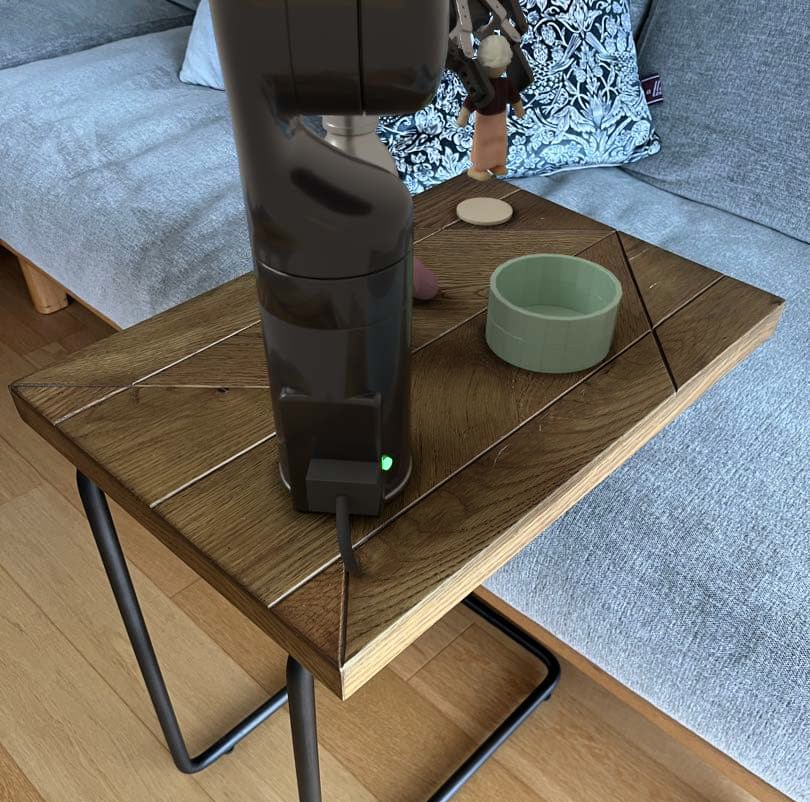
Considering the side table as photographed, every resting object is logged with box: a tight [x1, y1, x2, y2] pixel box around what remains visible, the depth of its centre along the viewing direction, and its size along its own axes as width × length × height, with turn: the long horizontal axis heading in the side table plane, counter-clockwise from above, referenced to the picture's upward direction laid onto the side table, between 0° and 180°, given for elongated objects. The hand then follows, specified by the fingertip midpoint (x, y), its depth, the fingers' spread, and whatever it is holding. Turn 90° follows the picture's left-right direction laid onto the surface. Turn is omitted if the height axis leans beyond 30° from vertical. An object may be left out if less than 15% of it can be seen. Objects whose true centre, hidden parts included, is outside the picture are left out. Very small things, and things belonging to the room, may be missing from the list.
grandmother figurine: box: [455, 34, 526, 182], centre depth 80 cm, size 8×4×13 cm, turn 130°
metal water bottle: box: [321, 112, 400, 178], centre depth 62 cm, size 6×7×20 cm
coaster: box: [456, 197, 514, 226], centre depth 87 cm, size 6×6×1 cm
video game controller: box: [413, 256, 439, 301], centre depth 73 cm, size 10×5×7 cm, turn 62°
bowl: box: [485, 253, 624, 374], centre depth 69 cm, size 11×11×5 cm
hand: (507, 94), depth 78 cm, fingers closed on grandmother figurine, 5 cm apart
